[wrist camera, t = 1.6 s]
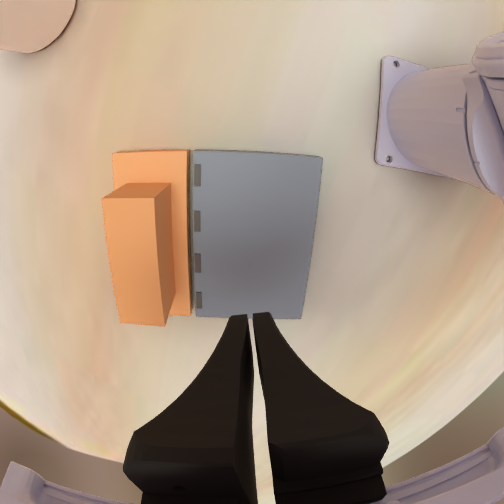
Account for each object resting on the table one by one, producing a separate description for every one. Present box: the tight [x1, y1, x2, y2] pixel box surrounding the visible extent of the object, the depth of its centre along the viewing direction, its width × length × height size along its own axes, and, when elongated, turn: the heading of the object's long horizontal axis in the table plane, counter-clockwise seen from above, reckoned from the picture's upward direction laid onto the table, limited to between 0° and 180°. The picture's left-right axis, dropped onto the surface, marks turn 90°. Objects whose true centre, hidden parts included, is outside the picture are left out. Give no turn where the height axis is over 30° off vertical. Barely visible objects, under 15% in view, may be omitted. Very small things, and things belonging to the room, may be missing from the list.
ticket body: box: [193, 150, 323, 319], centre depth 21 cm, size 8×12×1 cm, turn 177°
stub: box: [102, 150, 193, 327], centre depth 19 cm, size 5×12×5 cm, turn 177°
